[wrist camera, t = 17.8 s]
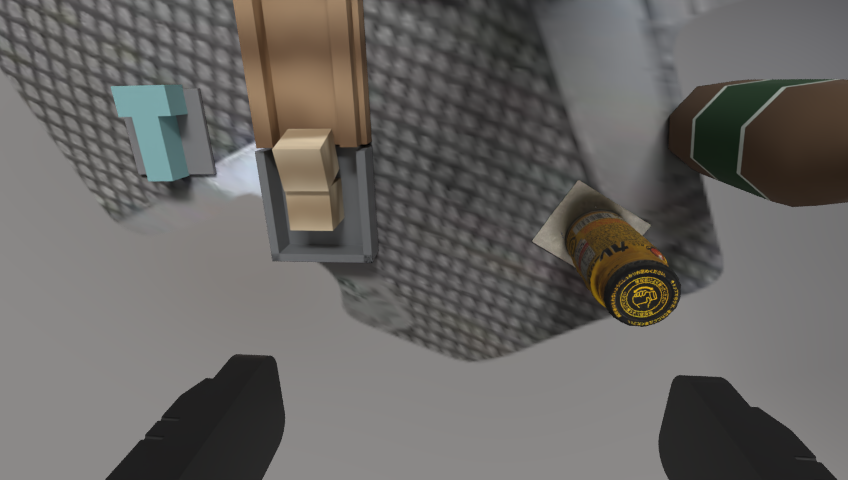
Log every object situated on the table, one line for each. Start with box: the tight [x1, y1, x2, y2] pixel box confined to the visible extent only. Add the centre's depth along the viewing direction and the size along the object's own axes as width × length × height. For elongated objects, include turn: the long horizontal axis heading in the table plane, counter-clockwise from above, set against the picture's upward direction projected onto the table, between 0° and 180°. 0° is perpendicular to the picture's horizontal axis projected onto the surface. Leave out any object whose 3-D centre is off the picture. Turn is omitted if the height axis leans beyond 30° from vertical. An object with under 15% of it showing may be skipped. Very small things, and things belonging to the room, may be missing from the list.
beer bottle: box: [668, 79, 848, 207], centre depth 26 cm, size 8×8×24 cm
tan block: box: [285, 178, 344, 231], centre depth 40 cm, size 4×4×4 cm
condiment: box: [532, 180, 681, 327], centre depth 36 cm, size 7×8×12 cm
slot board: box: [233, 0, 372, 148], centre depth 36 cm, size 17×10×4 cm, turn 1°
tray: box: [255, 146, 379, 263], centre depth 41 cm, size 11×10×3 cm
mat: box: [124, 89, 216, 174], centre depth 41 cm, size 8×8×1 cm
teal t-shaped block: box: [111, 85, 189, 181], centre depth 40 cm, size 2×5×8 cm
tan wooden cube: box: [272, 129, 339, 191], centre depth 37 cm, size 4×4×4 cm
